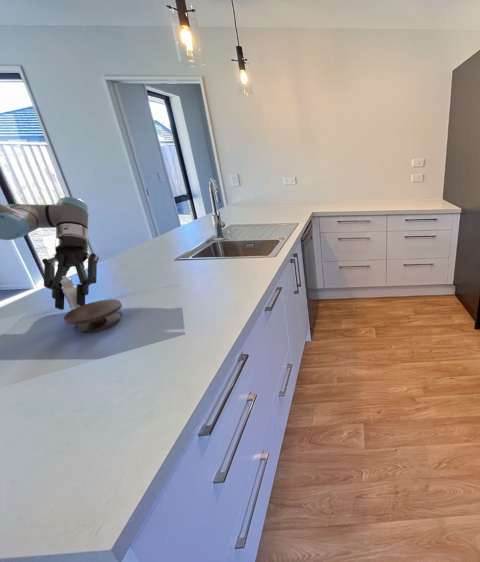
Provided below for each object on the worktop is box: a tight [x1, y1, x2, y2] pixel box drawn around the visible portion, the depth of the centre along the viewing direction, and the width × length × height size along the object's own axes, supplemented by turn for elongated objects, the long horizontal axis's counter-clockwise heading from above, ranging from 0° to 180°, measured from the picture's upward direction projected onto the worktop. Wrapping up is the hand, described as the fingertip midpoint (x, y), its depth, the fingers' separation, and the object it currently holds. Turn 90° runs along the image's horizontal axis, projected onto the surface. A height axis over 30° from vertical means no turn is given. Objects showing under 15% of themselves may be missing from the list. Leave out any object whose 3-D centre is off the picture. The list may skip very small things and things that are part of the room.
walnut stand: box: [63, 298, 123, 334], centre depth 90 cm, size 13×13×5 cm
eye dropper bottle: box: [60, 275, 80, 310], centre depth 94 cm, size 4×6×12 cm
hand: (70, 306), depth 92 cm, fingers closed on eye dropper bottle, 4 cm apart
